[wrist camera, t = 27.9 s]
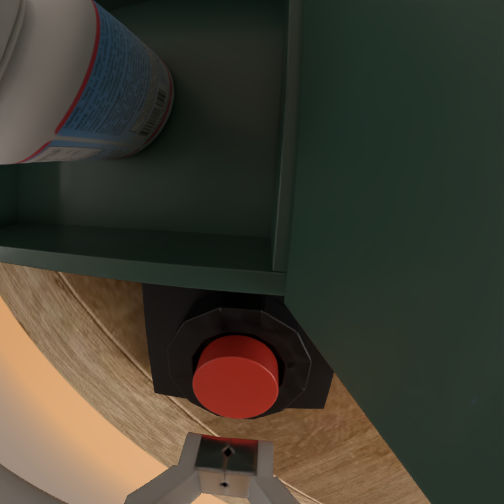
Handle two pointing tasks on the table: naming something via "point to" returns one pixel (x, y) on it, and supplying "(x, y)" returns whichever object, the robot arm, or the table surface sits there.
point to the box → (181, 161)
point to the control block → (224, 324)
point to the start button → (236, 377)
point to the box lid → (407, 228)
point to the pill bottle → (76, 84)
